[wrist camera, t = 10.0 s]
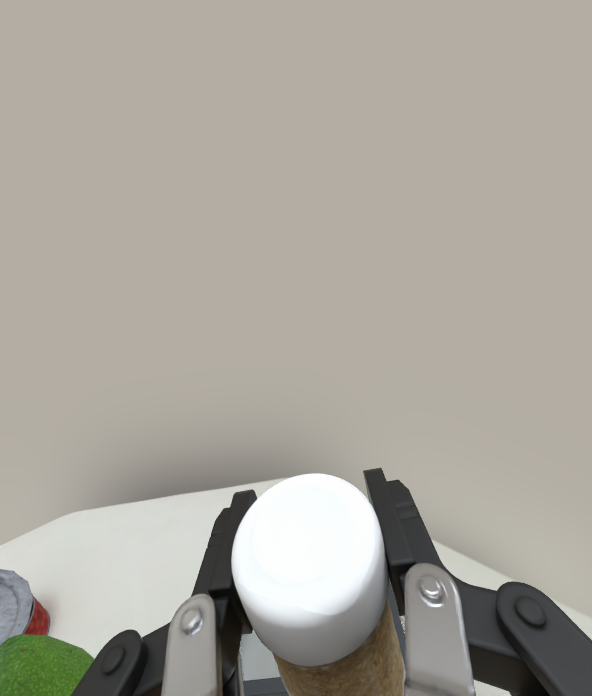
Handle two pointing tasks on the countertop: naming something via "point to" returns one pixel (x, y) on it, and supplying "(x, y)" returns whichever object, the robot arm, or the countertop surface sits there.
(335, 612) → the sprinkles bottle
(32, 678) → the avocado
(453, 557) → the countertop surface
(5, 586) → the canned food
